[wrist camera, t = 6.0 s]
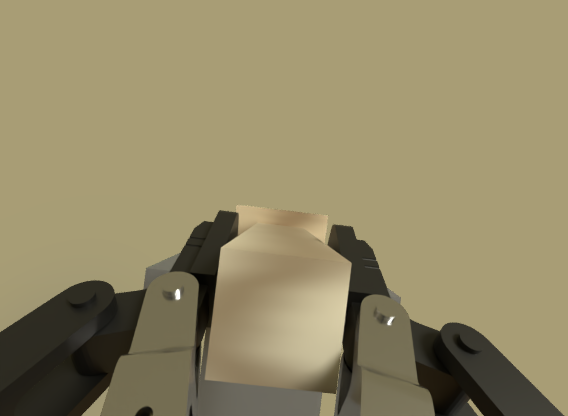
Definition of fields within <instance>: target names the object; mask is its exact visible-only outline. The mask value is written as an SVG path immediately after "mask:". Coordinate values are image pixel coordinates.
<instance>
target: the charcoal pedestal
mask: <svg viewBox="0 0 568 416" xmlns="http://www.w3.org/2000/svg"><path fill="white" fill-rule="evenodd" d="M179 255H180V253H179V254H177V255H174V256H172V257H170V258H168V259H165V260H163V261H161V262H159V263H157V264H155V265H152V266H150V267H148V268H146V274H145V282H144V289H147V288H148V286H149V285H150V283H151V282H152V281H153V280H154V279H156V278H157V277H159V276H161V275H163V274H166V273H169V272H170V270H171V269H172V267H173V265H174V263H175V262H176V260H177V258H178V256H179ZM387 289H388V288H387ZM388 292H389V295H390V297H391V299H393V300H395V301H396V302H398V303H399V304H400V301H401V297H399V296H398V295H396V294H395V293H394V292H392V291H391V290H389V289H388ZM210 332H211V328H208V327H206V333H205V341H204V349H203V357H202V366H201V374H200V383H199V402H198V416H319V414H320V406H321V397H322V392H314V391H305V390H296V389H286V388H277V387H268V386H259V385H249V384H240V383H231V382H222V381H213V380H205V373H206V365H207V357H208V349H209V340H210Z"/></svg>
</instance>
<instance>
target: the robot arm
mask: <svg viewBox="0 0 568 416" xmlns="http://www.w3.org/2000/svg"><path fill="white" fill-rule="evenodd" d="M238 225H239V213H237V212H229V211H221V210H220V211H219V212H218V214H217V216H216V218H215V221H214V222H207V221H204V222H202V223H201V224H200V225H199V226H197V227H196V228H194V230H193V232H192V234H191V236H190V238H189V239H188V241H187V242H186V245H185V246H184V248H183V249H182V251H181V253H180V255H179V256H178V258H177V260H176V262H175V263H174V265H173V267H172V269H171V270H170V272H169V273H166V274H163V275H161V276H159V277H157V278H156V279H154V280H153V281H152V282H151V283H150V285H149V286H148V288H147V289H143V290H139V291H131V292H124V293H116V294H115V292H114V289H113V287H112V286H111V285H110V284H109V283H107V282H104V281H86V282H83V283H79V284H76V285H74V286H71V287H70V288H68V289H66V290H65V291H63V292H61V293H60V294H58V295H57V296H55V297H54V298H52V299H50V300H49V301H47V302H46V303H44V304H43V305H41V306H40V307H38V308H37V309H35V310H34V311H32V312H31V313H29V314H27V315H26V316H24V317H23V318H21V319H20V320H18V321H17V322H15V323H14V324H12V325H11V326H9V327H7V328H6V329H4V330H3V331H1V332H0V416H81V415H82V414H83V413H84V412H85V411H86V410H87V409H88V408H89V407H90V406H91V405H92V404H93V403H94V402H95V400H97V398H98V397H99V396H100V395H101V394H102V393H103V392H104V391H105V390H106V389H107V388H108V387H109V389H108V393H107V396H106V399H105V402H104V406H103V409H102V412H101V415H100V416H198V402H199V383H200V363H201V341H202V339H203V336H204V333H205V330H206V327H208V328H211V324H212V316H213V308H214V300H215V292H216V284H217V276H218V268H219V260H220V251H221V247H223V246H224V245H226V244H227V243H229V242H230V241H231V240H233V239H234V238H236V237H237V236H238ZM327 246H329V247H330V248H332V249H333V250H334V251H336V252H337V253H339V254H340V255H341V256H343V257H344V258H345V259H347V260H348V261H350V262H351V263H352V265H351V273H350V282H349V290H348V298H347V307H346V315H345V323H344V332H343V340H342V344H343V350H344V352H343V355H342V358H341V363H340V370H339V379H338V387H337V396H336V404H335V413H334V416H478V415H477V414H476V413H475V412H474V410H473V409H472V408H471V406H470V405H469V404H468V403H467V402H468V401H469V399H471V400H472V401H473V403H474V404H475V405H476V407H477V408H478V409H479V410H480V412H481V413H482V414H483V415H484V416H564V415H563V414H562V413H561V412H560V411H559V410H558V409H557V408H556V407H555V406H554V405H553V404H552V403H550V401H549V400H548V399H547V398H546V397H545V396H544V395H542V393H541V392H540V391H539V390H538V389H537V388H536V387H535V386H534V385H533V384H532V383H531V382H530V381H529V380H528V379H526V377H525V376H524V375H523V374H522V373H521V372H520V371H519V370H518V369H516V367H515V366H514V365H513V364H512V363H511V362H510V361H509V360H508V359H507V358H506V357H505V356H503V354H502V353H501V352H500V351H499V350H498V349H497V348H496V347H495V346H494V345H492V343H491V342H490V341H489V340H488V339H487V338H485V337H484V336H483V335H482V334H481V333H479V332H477V331H476V330H475V329H473V328H471V327H469V326H466V325H464V324H460V323H447V324H445V325H444V326H443V327H442V329H441V330H440V331H438V330H435V329H432V328H429V327H427V326H424V325H422V324H419V323H416V322H414V321H412V320H411V319H409V316H408V313H407V312H406V310H405V309H404V308H403V307H402V306H401V305H400V304H399V303H398V302H396V301H395V300H393V299H391V297H390V295H389V292H388V289H387V287H386V284H385V281H384V279H383V276H382V273H381V271H380V269H379V265H378V263H377V261H376V257H375V255H374V252H373V249H372V248H371V247H370V246H369V245H368V244H367V243H366V242H365V241H363V240H357V239H356V236H355V233H354V230H353V227H351V226H343V225H333V226H332V229H331V233H330V237H329V241H328V245H327ZM34 385H35V386H34Z"/></svg>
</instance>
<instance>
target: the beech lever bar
mask: <svg viewBox="0 0 568 416" xmlns="http://www.w3.org/2000/svg"><path fill="white" fill-rule="evenodd" d="M236 212H237V213H239V225H238V236H237V237H236V238H234V239H233V240H231V241H230V242H229V243H227V244H226V245H224V246H223V247H221V251H220V260H219V268H218V276H217V284H216V292H215V300H214V308H213V316H212V324H211V332H210V340H209V349H208V357H207V365H206V373H205V380H213V381H222V382H231V383H240V384H249V385H259V386H268V387H277V388H286V389H296V390H305V391H314V392H323V393H333V394H336V390H337V381H338V373H339V365H340V355H341V347H342V340H343V332H344V323H345V315H346V307H347V298H348V290H349V282H350V273H351V265H352V263H351V262H350V261H348V260H347V259H345V258H344V257H343V256H341V255H340V254H339V253H337V252H336V251H334V250H333V249H332V248H330V247H329V246H327V245H326V244H325V237H326V228H327V221H328V216H326V215H317V214H310V213H302V212H294V211H286V210H277V209H269V208H261V207H253V206H244V205H237V209H236Z"/></svg>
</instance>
